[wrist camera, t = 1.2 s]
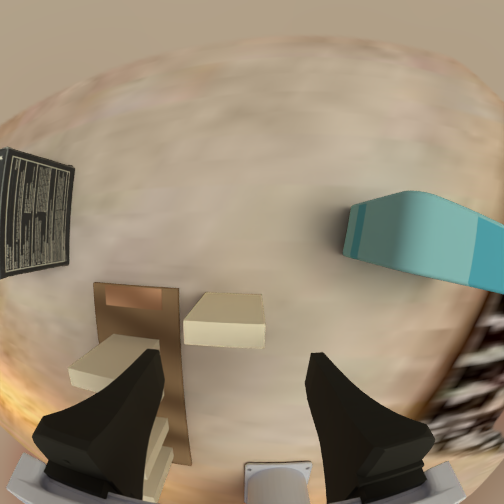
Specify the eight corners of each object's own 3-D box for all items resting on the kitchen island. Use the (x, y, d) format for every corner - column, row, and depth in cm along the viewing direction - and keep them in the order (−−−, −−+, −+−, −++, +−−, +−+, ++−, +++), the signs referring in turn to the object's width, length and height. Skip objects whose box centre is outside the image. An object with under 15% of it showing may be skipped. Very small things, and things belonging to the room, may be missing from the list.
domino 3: (173, 456, 26) (156, 505, 18) (135, 448, 26) (111, 493, 18) (172, 447, 26) (153, 497, 17) (133, 440, 26) (107, 485, 17)
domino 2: (169, 428, 26) (147, 479, 17) (128, 421, 26) (99, 466, 17) (167, 418, 26) (144, 469, 17) (125, 410, 26) (94, 455, 17)
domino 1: (160, 354, 25) (126, 399, 17) (115, 348, 25) (71, 385, 17) (159, 339, 25) (123, 381, 16) (113, 333, 25) (67, 367, 17)
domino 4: (261, 311, 25) (264, 348, 17) (205, 309, 25) (184, 344, 17) (261, 294, 25) (265, 324, 17) (205, 292, 25) (183, 320, 17)
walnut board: (191, 463, 27) (191, 466, 26) (124, 450, 27) (123, 452, 26) (178, 288, 25) (177, 289, 25) (95, 282, 25) (92, 283, 25)
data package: (337, 254, 25) (402, 271, 13) (346, 205, 25) (415, 186, 13) (437, 276, 25) (519, 297, 13) (445, 234, 25) (528, 237, 13)
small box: (37, 170, 25) (-27, 154, 14) (76, 166, 24) (10, 142, 14) (31, 262, 25) (-34, 272, 15) (70, 266, 25) (0, 281, 15)
